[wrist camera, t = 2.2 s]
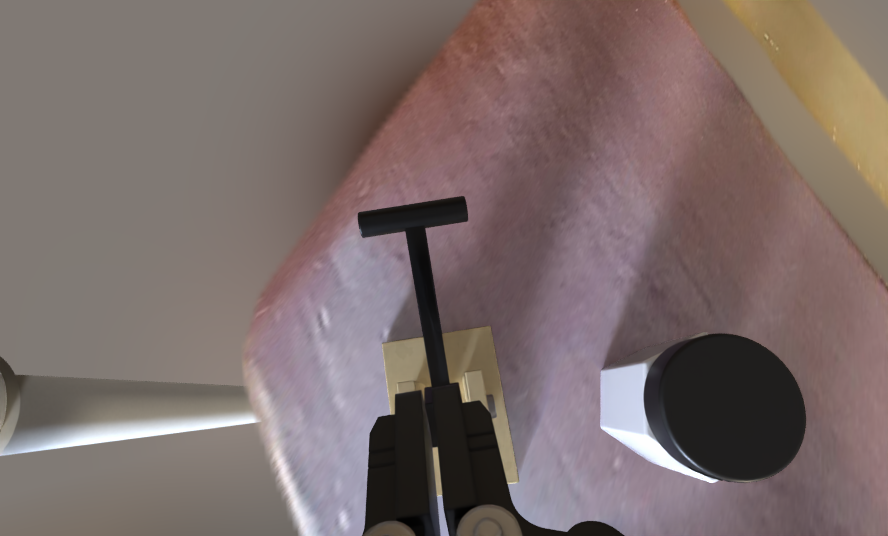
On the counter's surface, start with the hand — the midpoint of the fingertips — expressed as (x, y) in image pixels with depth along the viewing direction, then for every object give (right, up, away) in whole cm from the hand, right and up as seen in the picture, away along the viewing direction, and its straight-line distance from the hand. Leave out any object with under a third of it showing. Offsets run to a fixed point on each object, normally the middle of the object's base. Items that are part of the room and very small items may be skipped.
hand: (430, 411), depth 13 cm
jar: (+17, -7, +25) cm, 31 cm away
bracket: (+1, -7, +25) cm, 26 cm away
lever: (0, +1, +16) cm, 16 cm away
